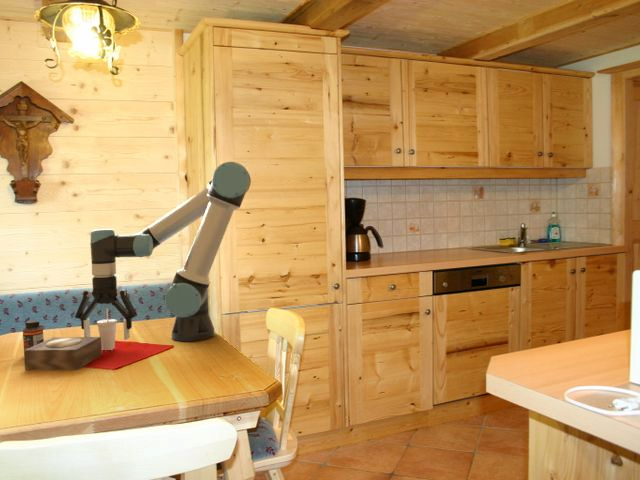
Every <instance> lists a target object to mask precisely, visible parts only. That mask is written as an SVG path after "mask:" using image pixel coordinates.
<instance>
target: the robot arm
mask: <svg viewBox="0 0 640 480" xmlns="http://www.w3.org/2000/svg"><path fill="white" fill-rule="evenodd" d="M251 181H252V180H251V176H250V173H249V172H248V170H247V169H246V168H245V167H244V166H243V165H242V164H240V163H238V162H235V161H226V162H223V163H221V164H219V166H217V167H216V168H215V170H214V171H213V173H212V177H211V181H208V183H207V187H205V188H204V189H202V190H200V191H199V192H198V193H196V194H194V195H192V197H190V198H189V199H187V200H186V201H184V202H183V203H181V204H180V205H178V206H177V207H176V208H174V209H173V210H171V211H169V212H168V213H166V214H165V215H163V216H162V217H160V218H159V219H157V220H156V221H154V222H153V223H151V224H150V225H148V226H147V227H145V228H144V229H142V230H141V231H139V232H137V233H133V234H116V233H115V230H114V229H112V228H101V229H93V230H91V231H90V243H89V244H90V256H91V258H90V259H91V274H92V276H93V277H92V278H91V280H92V290H90V289H86V290H84V291H83V293H82V294H83V296H82V299H81V302H80V303H79V306H78V308H77V310H76V313H75V315H74V317H75V319H79V320H80V326H81V329H82V330H83V335H84V336H83V337H91V324H90V323H91V322H90V318H89V316H90V315H91V313H92V312H94V309H95V308H96V307H97V306H98V304H100V305H103V304H106V305H112V306H114V307H115V309H116V310H117V311H118V312H119V313H120V314H121V316H122V317H123V318H124V319H123V339H124V341H125V340H128V339H130V337H131V335H130V333H131V332H130V330H131V329H133V328H132V327H133V326H132V325H133V324H132V322H133V321H132V319H134V318H135V317H138V313H137V312H136V309H135V308H134V306H133V304H132V302H131V300H130V298H129V296H128V293H127V289H125V288H124V289H122V290H118V288H117V287H118V286H117V282H118V281H117V276H116V274H117V265H116V263H117V262H116V261H117V260H116V258H145V257H150V256H151V255H152V254H153V251H154V249H155V248H158V246H160V245H161V244H163V243H164V242H166V241H167V240H169V239H170V238H172V237H173V236H175V235H176V234H177V233H179V232H180V231H182V230H184V229H185V228H187V227H188V226H189V225H191V224H192V223H194V222H195V221H197V220H199V219H201V217H202V219H201V222H200V224H199V227H198V228H197V232H196V234H195V237H194V239H193V242H192V244H191V247H190V249H189V252H188V255H187V256H186V260H185V262H184V265H183V267H182V268H180V269H178V270H176V273H175V275H174V277H173V279H172V281H171V282H172V283H171V284H170V287H169V288H168V289H167V290H166V292H165V297H164V302H165V303H164V304H165V306H166V309H167V310H168V311H169V313H170V314H172V315H174V316H175V319H174V323H173V327H172V328H171V329H172V330H171V340H173V341H178V342H195V341H196V342H197V341H203V340H204V341H205V340H208V339H211V338H213V337H214V336H215V335H216V334H215V332H216V331H215V327H214V324H213V322H212V319H211V316H210V311H209V310H210V309H209V286H210V284H211V281H210V280H209V274H210V271H211V269H212V266H213V264H214V261H215V259H216V256H217V254H218V251H219V249H220V246H221V244H222V241H223V239H224V236H225V233H226V232H227V229H228V226H229V223H230V221H231V218H232V216H233V213H234V212H235V211H237V210H238V209H240V208H241V205H242V203H243V200H244V198H245V195H246V193H247V192H248V191H249V189H250V186H251ZM118 296H119V297H120V299H121V301H122V303H123V304H122V303H121V302H120V300H119V299H118V298H117V297H118ZM91 297H93V298H94V299H93V300H92V301H91V303H90V305H89V306H88V307H87V304H88V303H89V300H90V298H91ZM86 307H87V309H86Z"/></svg>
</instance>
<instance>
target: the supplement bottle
mask: <svg viewBox="0 0 640 480" xmlns="http://www.w3.org/2000/svg"><path fill="white" fill-rule="evenodd" d="M44 339H45V338H44V328H43V327H42V326H40V320H38V319H32V320H27V321H25V327H24V328H23V330H22V341H23V351H24V350H26V349H28V348H30V347H33V346H35V345H37V344H39V343H42V342H44V341H45V340H44Z"/></svg>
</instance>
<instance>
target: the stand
mask: <svg viewBox="0 0 640 480" xmlns="http://www.w3.org/2000/svg"><path fill="white" fill-rule="evenodd" d="M102 352H103V350H102V345H101V337H100V336H90V337H84V336H74V337H73V336H70V337H69V336H67V337H65V336H63V337H54V336H53V337H50V338H49V339H46V340H44V342H42V343H39V344H37V345H35V346H33V347H30V348H28V349H26V350H24V349H23V357H24V370H25V371H77V370H79V369H81V368H83V367H84V366H86V365H88V364H89V363H91V362H93V361H95V360H96V359H98V358H99V356H100V357H101V356H102V355H103V353H102ZM94 359H95V360H94Z"/></svg>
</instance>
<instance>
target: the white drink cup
mask: <svg viewBox="0 0 640 480" xmlns="http://www.w3.org/2000/svg"><path fill="white" fill-rule="evenodd" d="M105 311H106V312H105V314H106V319H101V320H98V321H96V326H97V328H98V333H99V337H101V350H102V351H103V350H105V351H104V352H107V351H106V350H111V351H114V350H115V344H116V330H117V329H116V327H117V324H118V320H117V319H116V318H115V319H113V318H111V319H110V318H109V308H108V307H107V308H106V310H105ZM113 349H114V350H113Z"/></svg>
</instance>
